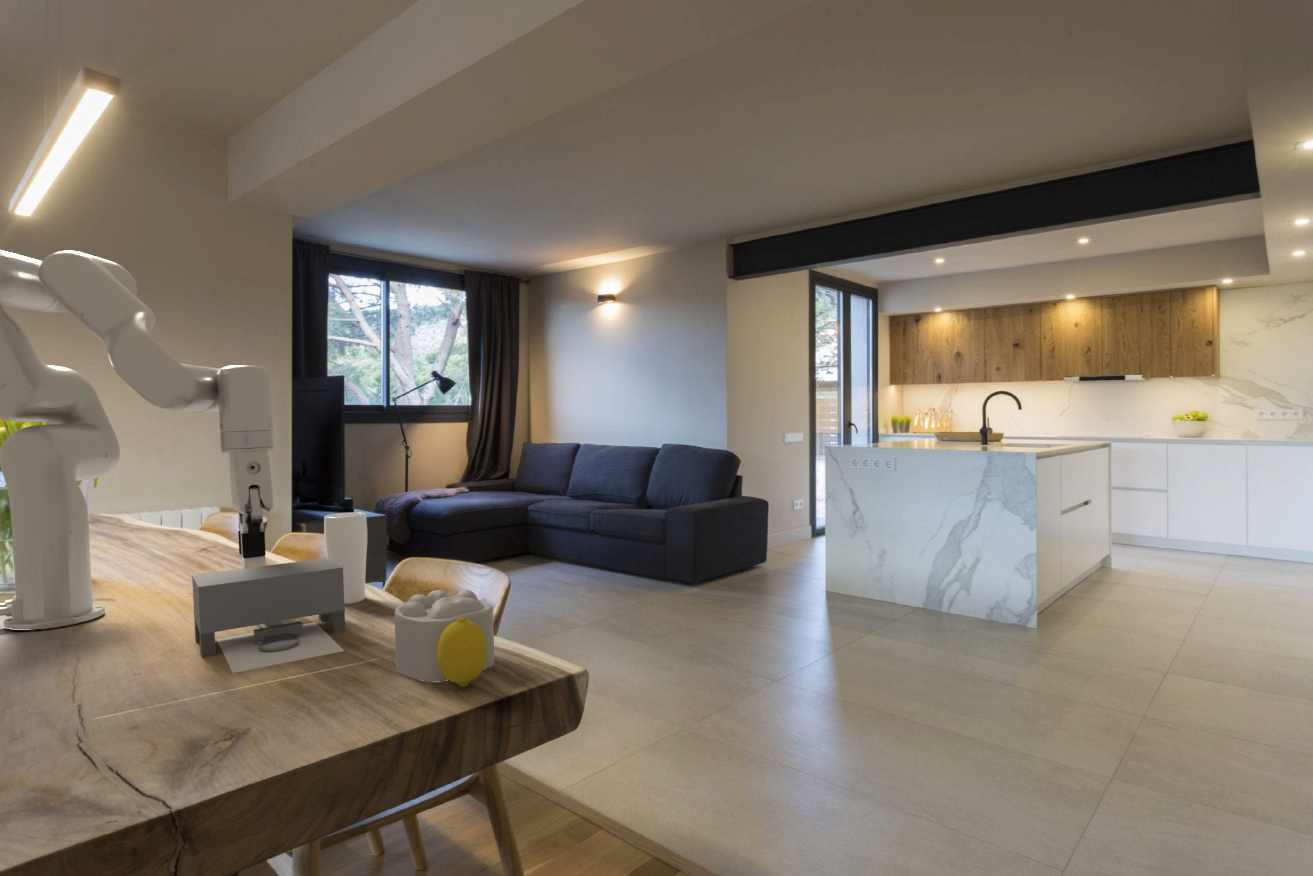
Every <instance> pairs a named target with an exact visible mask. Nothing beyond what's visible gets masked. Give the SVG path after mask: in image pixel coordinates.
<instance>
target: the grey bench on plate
mask: <svg viewBox="0 0 1313 876" xmlns="http://www.w3.org/2000/svg"><path fill="white" fill-rule="evenodd" d="M192 597H193V598H192V600H193V602H192V603H193V619H194V621H193V622H194V640H195V643H199V649H200V651H199V652H200V656H201V658H206V657H211V656H216V634H215V633H217V632H223V631H224V632H225V631H228V630H234V629H236V630H237V629H241V628H247V627H253V626H260V624H266V623H272V622H278V621H280V622H283V621H289V620H293V619H294V620H295V619H300V618H306V617H311V616H318V620H319V621H321V622H323V621H329V620H330V629H331V632H332V634H335V633H336V634H337V633H340V632H346V614H345V613H346V612H345V604H344V583H343V567H341V566H340V565H338V564H336V563H335V562H333V561H331V560H330V559H328V558H327V557H325V558H317V559H308V560H300V561H295V562H294V561H292V562H286V563H278V564H277V563H276V564H269V565H266V566H260V567H252V568H244V569H242V568H237V569H230V570H222V571H214V572H206V573H198V574H192Z"/></svg>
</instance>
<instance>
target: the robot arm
mask: <svg viewBox="0 0 1313 876" xmlns="http://www.w3.org/2000/svg"><path fill="white" fill-rule="evenodd" d="M137 296H138V286H137V283H136V280H135V278H134V277H133V275H132V274H131V272H129V270H128V269H126V268H125V267H123V266H122V265H120V264H119V263H116V262H113V261H111V260H108V259H104V258H102V257H99V256H94V255H92V254H88V253H86V252H85V253H84V252H81V251H76V250H63V251H62V250H60V251H57V252H53V253H51V254H49V255H47V256H46V257H44V258H43V260H39V259H37V258H36V259H35V258H31V257H28V256H24V255H20V254H18V253H13V252H9V251H5V250H2V249H0V420H3V421H4V420H5V421H7V422H8V421H9V422H18V423H19V422H20V423H39V422H40V423H44V424H38V425H37V424H36V425H29V426H26V427H23V428H20V429H17V430H15V431H14V432H13V433H11V434H10V435H8V436H7V437H6V438H5V440H4V441H3V443H2V445H1V447H0V469H1V473H2V477H3V479H4V482H5V485H6V488H7V494H8V501H9V507H10V508H9V510H10V521H11V534H12V552H13V555H12V556H13V569H14V570H13V571H14V572H13V573H14V588H15V589H14V591H15V594H14V596H13V597H12V599H6V600H5V601H4V602H1V603H0V617H1V616H6V617H7V618H6V619H4V620H3V627H4V626H5V627H7V628H12V629H41V630H47V629H48V630H49V628H50V629H55V628H61V627H62V628H63V627H67V626H72V625H77V624H81V623H84V622H88V621H92V620H94V619H97V618H99V617H101V616H103V615H105V612H106V608H105V606H104V605H103V604H101V603H100V604H99V603H93V583H92V567H91V566H92V564H91V563H92V562H91V545H90V543H91V542H90V525H89V524H90V522H89V521H90V520H89V512H88V504H87V501H86V499H85V496H84V494H83V492H82V490H81V487H80V485H79V484H78V482H79V481H87V480H88V481H89V480H93V479H94V480H95V479H98V478H101V477H102V478H103V477H105V476H107V475H108V474H110V473H111V472H112V471H113V470H115V468H116V467H117V465H118V463H119V461H120V457H121V448H120V442H119V440H118V437H117V435H116V432H115V430H114V428H113V426H112V424H111V422H110V419H109V417H108V416H107V413H106V412H105V409H104V406H103V405H102V402H101V400H100V397H99V396H98V395H97V393H96V391H95V389H94V387H93V385H92V384H91V382H89V380H88V379H87V378H86V377H85V376H84V375H82V374H81V373H80V372H78V371H77V370H74V369H72V368H68V367H64V366H59V365H50V364H49V365H48V364H45V363H43V362H42V360H40V358H39V357H38V355H37V353H36V352H35V349H34V347H33V344H32V342H31V340H30V338H29V336H28V335H27V333H26V331H25V330H24V329H23V327H22V326H21V325H20V324H19V323H18V322H17V321H16V320H15V319H14V318H13V317H12V316H11V315H10V314H9V313H8V311H6V309H5V307H4V306H7V307H11V308H12V307H14V308H17V309H18V308H19V309H23V310H28V311H36V312H44V313H70V315H72V316H73V317H74V318H76V320H77V321H78V322H80V324H82V325H83V326H84V327H85V328H87V330H89V331H90V332H91V334H92V335H94V336H95V337H96V338H97V339H99V341H101V343H103V344H104V346H105V351H106V355H107V358H108V360H109V362H110V364H111V366H112V368H113V370H114V371H115V372H116V374H117V375H118V376H119V377H120V378H121V379H122V381H124V382H125V383H126V385H128V386H129V387H131V389H132V390H134V392H135V393H136V394H138V395H140V396H141V397H142V398H143V399H144V400H145V401H147V402H148V403H149V404H151V405H153V406H154V407H155V408H159V410H162V411H166V412H171V413H195V414H196V413H197V414H198V413H201V414H202V413H203V414H205V413H206V414H207V413H216V412H218V423H219V425H218V426H219V442H220V453H228V458H229V459H228V461H229V482H230V484H229V485H230V495H231V504H232V508H233V510H234V511H236V512H237V513H238V528H239V530H238V531H237V533H238V552H239V555H240V556H241V534H240V523H243V530H244V533H242V554H243V558H254V557H262V556H265V557H266V553H267V551H266V535H265V534H266V531H265V524H263V523H264V511H266V512H268V513H270V512H272V511H273V510H274V508H275V506H274V495H273V482H272V481H273V480H272V470H271V469H272V468H271V462H270V457H269V451H270V452H271V451H274V449H275V447H274V446H275V445H274V424H273V422H274V421H273V404H272V403H273V398H272V397H273V396H272V379H271V374H270V371H269V369H267V368H266V367H263V366H259V365H247V364H246V365H244V364H243V365H236V364H235V365H227V366H224V367H221V368H219V367H218V368H216V367H208V366H201V365H196V364H195V365H194V364H185V363H181V362H178V361H177V360H176V359H174V357H172V356H171V355H170V354H169V353H168V352H166V351H165V350H164V349H163V348H162V347H161V346H160V345H159V344H158V343H157V342H156V341H155V339H153V337H152V336H151V334H150V333H151V332H152V331H153V329H154V327H155V325H156V316H155V313H154V311H152V309H151V308H149V307H148V306H147V305H146V304H145V303H144V302H143V301H141V299H139V297H137Z"/></svg>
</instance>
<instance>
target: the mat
mask: <svg viewBox="0 0 1313 876" xmlns="http://www.w3.org/2000/svg"><path fill="white" fill-rule="evenodd" d="M302 628H303V634H302V635H298V636H299V645H298V646H296V647H294V648H292V649H289V650H285V651H279V652H260V651H258V643H255V642H254V632H251V633H246V634H241V635H233V636H227V637H223V638H217V639H216V640H217V643H218V645H219V647H220V650H221V651H222V653H223V656H224V658H225V660H226V662H227V664H228V666H229V668H230V671H231V673H232V674H237V673H240V672H246V671H251V670H256V669H261V668H266V667H270V666H277V665H281V664H285V663H286V664H287V663H291V662H297V661H301V660H302V661H303V660H307V659H312V658H317V657H321V656H325V655H332V654H335V653H336V654H337V653H342V652H345V650H344V649H343V648H342V647H341V646H340V644H338V642H336V641H335V640H334V639H333V638H332V637H331V636H330V635H329V634H328V633H327V632H326V631H325V630H324V629H323V628H322V627H321V626H320V625H319V624H318V623H317V622H307V623H304V624H303V623H302Z"/></svg>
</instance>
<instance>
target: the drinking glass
mask: <svg viewBox="0 0 1313 876" xmlns="http://www.w3.org/2000/svg"><path fill="white" fill-rule="evenodd" d="M323 520H324V521H323V534H324V546H325V547H324V548H325V554H326V555H325V556H326V558H328V559H330V560H331V561H333V562H335V563H336V564H338V565H340V566H341V567H343V583H344V605H351V604H358V603H361V602H362V601H364V600H365V599H366V572H367V571H366V568H367V552H368V551H367V549H368V524H367V523H368V522H367V520H368V519H367V513H366V512H361V511H359V512H357V511H355V512H340V513H331V514H327V515H324V517H323Z"/></svg>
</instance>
